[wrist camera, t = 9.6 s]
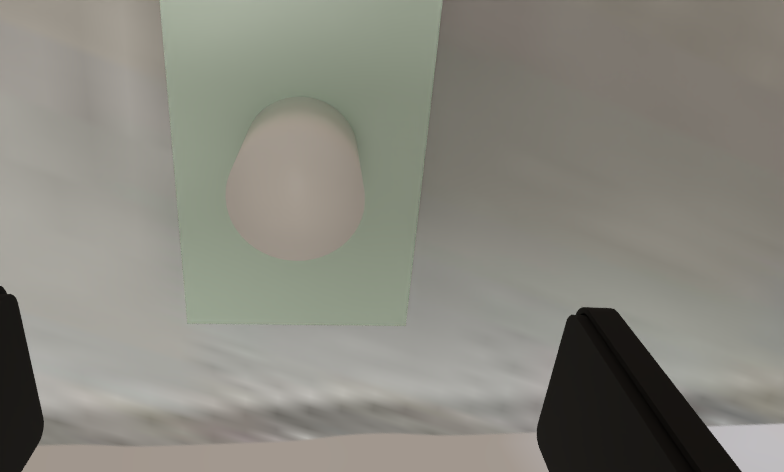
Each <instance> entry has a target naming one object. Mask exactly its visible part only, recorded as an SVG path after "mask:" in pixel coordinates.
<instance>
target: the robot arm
mask: <svg viewBox="0 0 784 472" xmlns="http://www.w3.org/2000/svg"><path fill="white" fill-rule="evenodd" d="M43 427H44V420H43V415H42V410H41V406H40V401H39V396H38V392H37V387H36V383H35V378H34V374H33V369H32V365H31V360H30V356H29V351H28V347H27V342H26V337H25V333H24V328H23V324H22V319H21V315H20V310H19V306H18V302H17V299H16V298H15V296H14V295H11V294H7V293H6V291H5V289H4V288H3V287H2V286H0V472H21V471H22V470H23V468H24V466H25V465H26V463H27V461H28V460H29V458H30V457H31V455H32V453H33V452H34V450H35V448H36V447H37V445H38V443H39V441H40V439H41V436H42V433H43ZM537 441H538V445H539V448H540V451H541V453H542V455H543V458H544V460H545V463H546V465H547V468H548V470H549V472H741V471H740V469H739V468H738V466H737V465H736V464H735V463H734V461H733V460H732V459H731V457H730V456H729V455H728V454H727V452H726V451H725V450H724V448H723V447H722V446H721V444H720V443H719V442H718V441H717V439H716V438H715V437H714V435H713V434H712V433H711V432H710V431H709V429H708V428H707V426H706V425H705V424H704V423H703V421H702V420H701V419H700V417H699V416H698V415H697V414H696V412H695V411H694V410H693V408H692V407H691V406H690V405H689V403H688V402H687V401H686V399H685V398H684V397H683V396H682V394H681V393H680V392H679V390H678V389H677V388H676V387H675V385H674V384H673V383H672V381H671V380H670V379H669V378H668V376H667V375H666V374H665V372H664V371H663V370H662V369H661V367H660V366H659V365H658V363H657V362H656V361H655V360H654V358H653V357H652V356H651V354H650V353H649V352H648V351H647V349H646V348H645V347H644V345H643V344H642V343H641V342H640V340H639V339H638V338H637V336H636V335H635V334H634V333H633V331H632V330H631V329H630V327H629V326H628V325H627V323H626V322H625V321H624V320H623V318H622V317H621V316H620V314H619V313H618V312H617V311H616V310H615V309H611V308H589V307H582V308H580V309H579V310H578V312H577V313H576V315H570V316H569V317H568V319H567V322H566V325H565V328H564V332H563V336H562V339H561V343H560V346H559V350H558V354H557V357H556V361H555V364H554V368H553V372H552V375H551V379H550V382H549V386H548V390H547V393H546V397H545V400H544V404H543V408H542V411H541V415H540V418H539V422H538V426H537Z"/></svg>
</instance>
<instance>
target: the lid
mask: <svg viewBox="0 0 784 472" xmlns="http://www.w3.org/2000/svg"><path fill="white" fill-rule="evenodd" d="M442 2H443V0H160V12H161V23H162V35H163V47H164V58H165V70H166V81H167V93H168V105H169V116H170V128H171V140H172V151H173V163H174V175H175V186H176V198H177V210H178V221H179V233H180V244H181V256H182V268H183V279H184V291H185V303H186V314H187V324H273V325H375V326H406V318H407V309H408V300H409V292H410V283H411V274H412V265H413V257H414V248H415V239H416V230H417V222H418V213H419V204H420V195H421V186H422V178H423V169H424V160H425V151H426V143H427V134H428V125H429V116H430V108H431V99H432V90H433V81H434V73H435V64H436V55H437V46H438V37H439V29H440V20H441V11H442Z"/></svg>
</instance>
